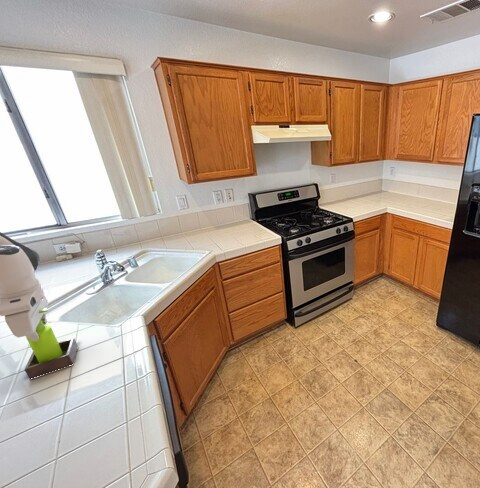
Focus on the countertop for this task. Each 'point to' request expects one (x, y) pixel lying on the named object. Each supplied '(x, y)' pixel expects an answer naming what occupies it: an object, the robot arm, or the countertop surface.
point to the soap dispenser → (45, 343)
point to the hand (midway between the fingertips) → (39, 331)
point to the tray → (52, 360)
